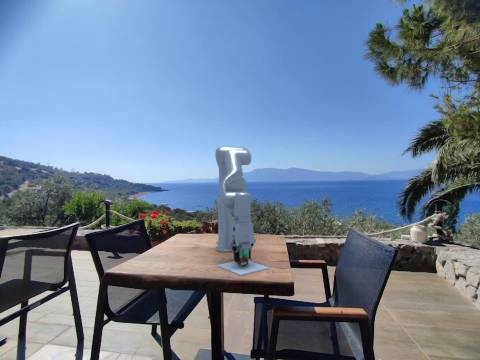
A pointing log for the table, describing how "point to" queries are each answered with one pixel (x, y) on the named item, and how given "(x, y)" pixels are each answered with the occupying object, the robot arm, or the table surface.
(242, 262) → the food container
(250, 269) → the mat
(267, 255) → the table surface
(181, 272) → the table surface
